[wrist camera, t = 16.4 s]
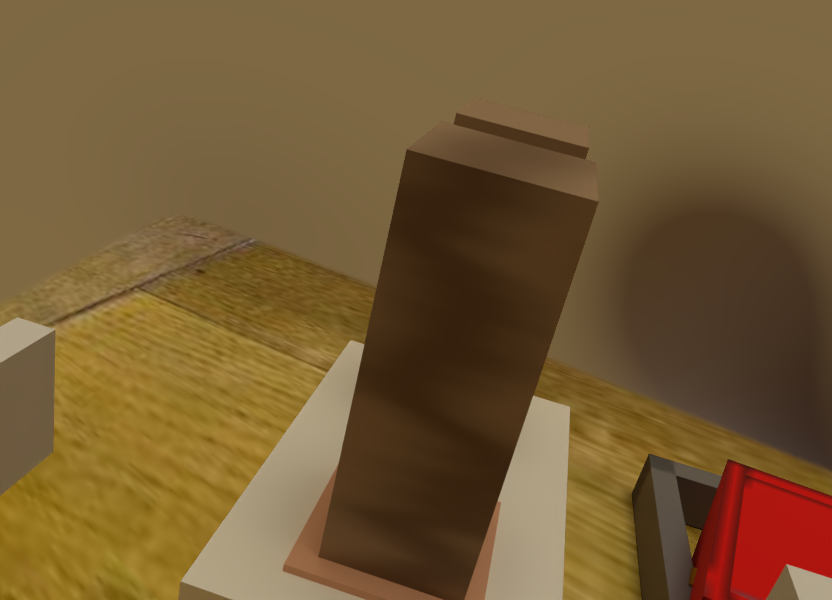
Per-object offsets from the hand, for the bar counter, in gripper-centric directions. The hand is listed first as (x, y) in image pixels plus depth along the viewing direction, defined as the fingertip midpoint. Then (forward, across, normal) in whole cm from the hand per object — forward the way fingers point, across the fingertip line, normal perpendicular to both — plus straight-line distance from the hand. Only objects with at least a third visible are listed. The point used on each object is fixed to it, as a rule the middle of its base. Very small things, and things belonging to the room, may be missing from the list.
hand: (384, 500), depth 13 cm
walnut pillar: (+10, 0, -10) cm, 14 cm away
